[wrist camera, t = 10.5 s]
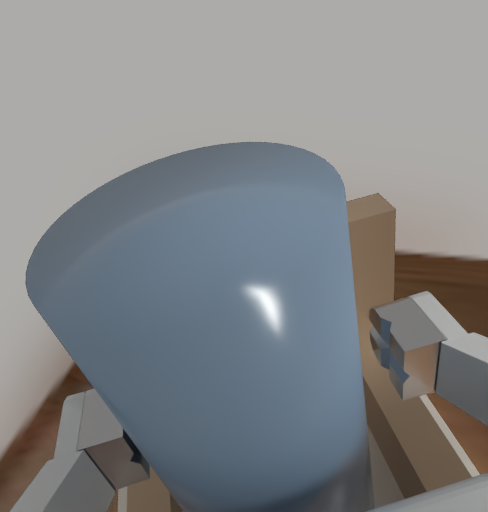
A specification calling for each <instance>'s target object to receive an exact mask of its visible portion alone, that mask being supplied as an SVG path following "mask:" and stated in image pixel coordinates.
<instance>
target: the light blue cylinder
mask: <svg viewBox="0 0 488 512" xmlns="http://www.w3.org/2000/svg"><path fill="white" fill-rule="evenodd" d="M26 288H27V292H28V296H29V298H30V299H31V301H32V303H33V305H34V306H35V308H36V309H37V311H38V312H39V313H40V315H41V316H42V317H43V319H44V320H45V322H46V323H47V324H48V326H49V327H50V328H51V330H52V331H53V333H54V334H55V335H56V337H57V338H58V339H59V341H60V342H61V343H62V345H63V346H64V348H65V349H66V350H67V352H68V353H69V355H70V356H71V357H72V359H73V360H74V361H75V363H76V364H77V366H78V367H79V368H80V370H81V371H82V372H83V374H84V375H85V377H86V378H87V379H88V381H89V382H90V383H91V385H92V386H93V388H94V389H95V390H96V392H97V393H98V394H99V396H100V397H101V399H102V400H103V401H104V403H105V404H106V405H107V407H108V408H109V410H110V411H111V412H112V414H113V415H114V416H115V418H116V419H117V421H118V422H119V423H120V425H121V426H122V427H123V429H124V430H125V432H126V433H127V434H128V436H129V437H130V438H131V440H132V441H133V443H134V444H135V445H136V447H137V448H138V449H139V451H140V452H141V454H142V455H143V456H144V458H145V459H146V460H147V462H148V463H149V465H150V466H151V467H152V469H153V470H154V471H155V473H156V474H157V475H158V477H159V478H160V480H161V481H162V482H163V484H164V485H165V486H166V488H167V489H168V491H169V492H170V493H171V495H172V496H173V497H174V499H175V500H176V502H177V503H178V504H179V506H180V507H181V508H182V510H183V511H184V512H366V511H369V510H372V509H375V504H374V493H373V482H372V472H371V461H370V450H369V440H368V429H367V418H366V408H365V397H364V386H363V376H362V365H361V354H360V344H359V333H358V322H357V312H356V301H355V290H354V280H353V269H352V258H351V248H350V237H349V226H348V216H347V205H346V196H345V188H344V184H343V181H342V179H341V177H340V175H339V174H338V172H337V171H336V170H335V168H334V167H333V166H332V165H331V164H329V163H328V162H327V161H326V160H325V159H323V158H321V157H320V156H318V155H316V154H314V153H312V152H310V151H307V150H305V149H301V148H298V147H294V146H290V145H284V144H278V143H267V142H241V143H229V144H220V145H213V146H208V147H202V148H198V149H194V150H189V151H185V152H181V153H178V154H174V155H171V156H168V157H165V158H162V159H159V160H156V161H153V162H151V163H148V164H145V165H143V166H140V167H138V168H136V169H134V170H132V171H129V172H127V173H125V174H123V175H121V176H119V177H117V178H115V179H113V180H111V181H110V182H108V183H106V184H104V185H102V186H101V187H99V188H97V189H96V190H94V191H93V192H91V193H90V194H88V195H87V196H85V197H84V198H82V199H81V200H80V201H78V202H77V203H76V204H74V205H73V206H72V207H71V208H70V209H68V210H67V211H66V212H65V213H64V214H63V215H61V216H60V217H59V218H58V219H57V220H56V221H55V222H54V224H52V225H51V227H50V228H49V229H48V230H47V231H46V233H45V234H44V235H43V236H42V238H41V239H40V241H39V242H38V244H37V246H36V247H35V249H34V251H33V253H32V255H31V257H30V259H29V263H28V266H27V270H26Z"/></svg>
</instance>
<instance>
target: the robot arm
mask: <svg viewBox="0 0 488 512" xmlns="http://www.w3.org/2000/svg"><path fill="white" fill-rule="evenodd" d="M369 320H370V321H371V323H372V324H373V327H372V328H371V330H370V331H369V332H370V342H371V345H372V349H373V352H374V354H375V356H376V358H377V360H378V362H379V363H380V365H381V366H382V367H384V368H386V369H388V370H389V380H390V381H391V383H392V384H393V386H394V388H395V389H396V391H397V393H398V394H399V396H400V397H401V399H402V401H404V400H407V399H411V398H415V397H418V396H422V395H425V394H429V393H433V392H436V394H437V395H439V396H440V397H442V398H443V399H445V400H447V401H448V402H450V403H451V404H453V405H455V406H456V407H458V408H459V409H461V410H463V411H464V412H466V413H467V414H469V415H471V416H472V417H474V418H475V419H477V420H478V421H480V422H482V423H483V424H485V425H486V426H488V338H487V337H485V336H482V335H480V334H477V333H475V332H473V333H469V334H468V333H467V332H466V331H465V330H464V329H463V327H462V326H461V325H460V324H459V323H458V322H457V321H456V320H455V319H454V318H453V317H452V316H451V314H450V313H449V312H448V311H447V310H446V309H445V308H444V307H443V306H442V305H441V304H440V303H439V301H438V300H437V299H436V298H435V297H434V296H433V295H432V294H431V293H430V292H428V291H424V292H421V293H418V294H414V295H411V296H408V297H404V298H401V299H397V300H394V301H391V302H388V303H384V304H381V305H378V306H375V307H371V308H370V310H369ZM147 479H150V465H149V463H148V462H147V460H146V459H145V458H144V456H143V455H142V454H141V452H140V451H139V449H138V448H137V447H136V445H135V444H134V443H133V441H132V440H131V438H130V437H129V436H128V434H127V433H126V432H125V430H124V429H123V427H122V426H121V425H120V423H119V422H118V421H117V419H116V418H115V416H114V415H113V414H112V412H111V411H110V410H109V408H108V407H107V405H106V404H105V403H104V401H103V400H102V399H101V397H100V396H99V394H98V393H97V392H96V390H95V389H91V390H87V391H84V392H81V393H77V394H73V395H70V396H67V398H66V399H65V401H64V403H63V408H62V414H61V419H60V425H59V430H58V436H57V442H56V447H55V453H54V458H53V459H51V460H48V461H47V462H46V463H45V464H44V466H43V467H42V468H41V470H40V471H39V473H38V474H37V475H36V477H35V478H34V479H33V481H32V482H31V483H30V485H29V486H28V487H27V489H26V490H25V491H24V493H23V494H22V495H21V497H20V498H19V500H18V501H17V502H16V504H15V505H14V506H13V508H12V509H11V510H10V512H107V510H108V508H109V506H110V504H111V502H112V500H113V497H114V495H115V493H116V492H115V490H118V489H121V488H124V487H127V486H129V485H132V484H135V483H138V482H141V481H144V480H147ZM366 512H488V472H487V473H484V474H481V475H478V476H475V477H472V478H468V479H465V480H462V481H459V482H456V483H453V484H450V485H447V486H444V487H440V488H437V489H434V490H431V491H428V492H425V493H422V494H419V495H415V496H412V497H409V498H406V499H403V500H400V501H397V502H394V503H390V504H387V505H384V506H381V507H378V508H375V509H372V510H369V511H366Z"/></svg>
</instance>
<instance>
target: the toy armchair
mask: <svg viewBox="0 0 488 512" xmlns="http://www.w3.org/2000/svg"><path fill="white" fill-rule="evenodd" d="M346 205H347V216H348V226H349V237H350V248H351V258H352V269H353V280H354V290H355V301H356V312H357V322H358V333H359V344H360V354H361V365H362V376H363V386H364V397H365V408H366V418H367V429H368V440H369V450H370V461H371V472H372V482H373V493H374V504H375V508H378V507H381V506H384V505H387V504H390V503H394V502H397V501H400V500H403V499H406V498H409V497H412V496H415V495H419V494H422V493H425V492H428V491H431V490H434V489H437V488H440V487H444V486H447V485H450V484H453V483H456V482H459V481H462V480H465V479H468V478H472V477H475V476H478V475H480V474H479V472H478V471H477V469H476V468H475V466H474V465H473V463H472V462H471V460H470V459H469V457H468V456H467V454H466V453H465V451H464V450H463V449H462V447H461V446H460V444H459V443H458V441H457V440H456V438H455V437H454V435H453V434H452V432H451V431H450V429H449V428H448V426H447V425H446V423H445V422H444V420H443V419H442V417H441V416H440V414H439V413H438V411H437V410H436V409H435V407H434V406H433V404H432V403H431V401H430V400H429V398H428V397H427V395H426V394H425V395H422V396H418V397H415V398H411V399H407V400H404V401H402V399H401V397H400V396H399V394H398V393H397V391H396V389H395V388H394V386H393V384H392V383H391V381H390V380H389V370H388V369H386V368H384V367H382V366H381V365H380V363H379V362H378V360H377V358H376V356H375V354H374V352H373V349H372V345H371V342H370V332H369V331H370V330H371V328H372V327H373V324H372V323H371V321H370V320H369V310H370V308H371V307H375V306H378V305H381V304H384V303H388V302H391V301H394V267H395V218H396V216H395V214H396V209H395V208H394V207H393V206H392V205H391V204H389V202H387V201H386V200H385V199H384V198H383V197H382V196H381V195H380V194H379V193H377V194H373V195H369V196H366V197H362V198H359V199H355V200H351V201H348V202H346ZM117 512H184V511H183V510H182V508H181V507H180V506H179V504H178V503H177V502H176V500H175V499H174V497H173V496H172V495H171V493H170V492H169V491H168V489H167V488H166V486H165V485H164V484H163V482H162V481H161V480H160V478H159V477H158V475H157V474H156V473H155V471H154V470H153V469H152V467H151V466H150V479H147V480H144V481H141V482H138V483H135V484H132V485H129V486H127V487H124V488H121V489H118V511H117Z"/></svg>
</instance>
